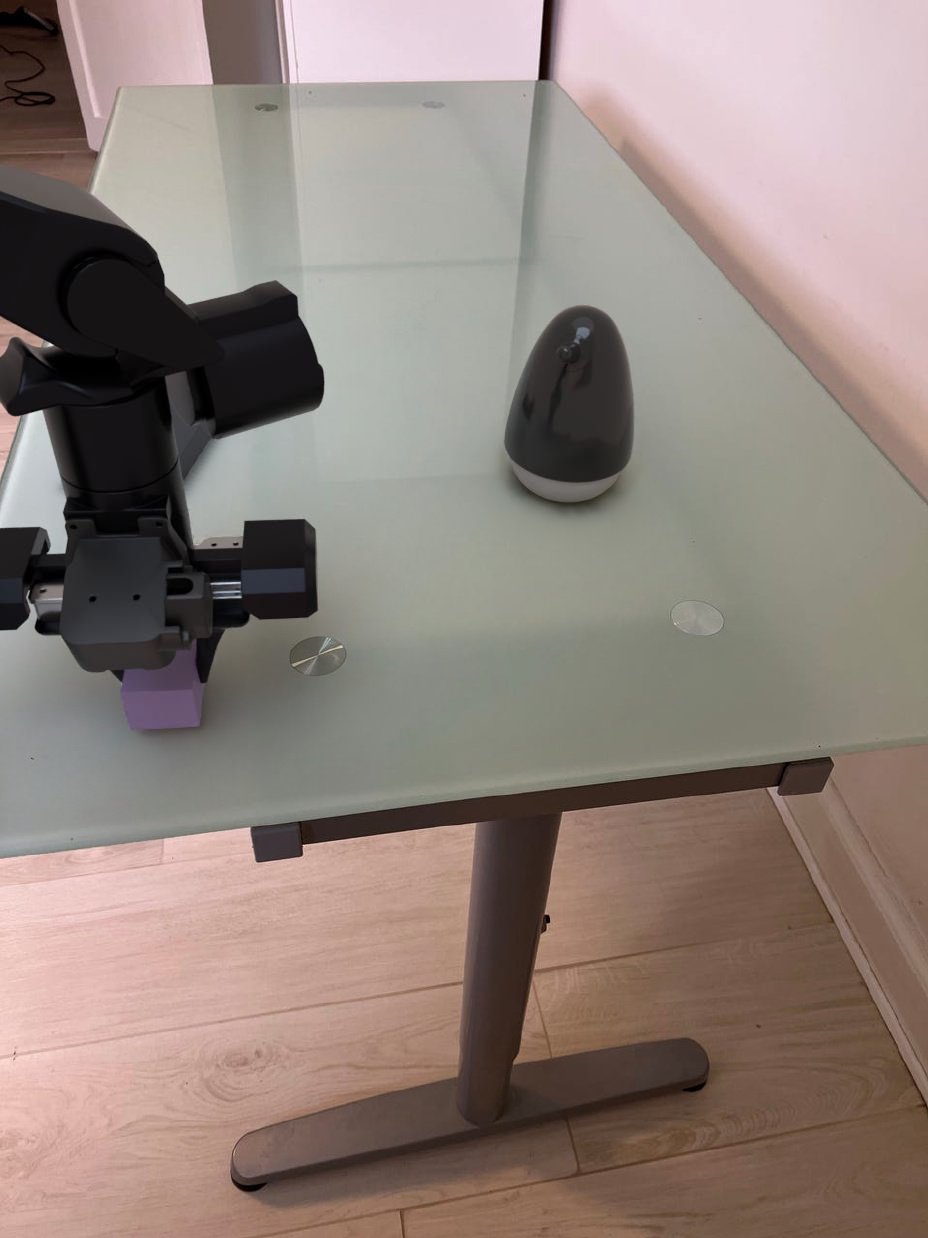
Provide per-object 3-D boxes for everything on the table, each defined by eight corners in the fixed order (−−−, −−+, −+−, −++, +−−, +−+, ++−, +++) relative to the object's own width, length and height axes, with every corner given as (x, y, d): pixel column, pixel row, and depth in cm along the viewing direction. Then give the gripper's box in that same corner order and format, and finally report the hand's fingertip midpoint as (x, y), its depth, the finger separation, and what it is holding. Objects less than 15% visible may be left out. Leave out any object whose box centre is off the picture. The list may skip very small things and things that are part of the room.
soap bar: (199, 727, 58) (192, 689, 56) (129, 731, 58) (119, 693, 55) (207, 656, 62) (200, 618, 60) (142, 659, 62) (133, 621, 60)
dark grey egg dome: (481, 501, 79) (494, 322, 69) (524, 438, 86) (542, 268, 76) (604, 535, 76) (636, 354, 66) (637, 467, 84) (671, 295, 73)
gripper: (-135, 570, 42) (-30, 798, 52) (309, 555, 44) (325, 776, 55) (-63, 430, 50) (15, 651, 60) (309, 423, 52) (323, 638, 63)
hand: (167, 680), depth 59 cm, fingers closed on soap bar, 4 cm apart
